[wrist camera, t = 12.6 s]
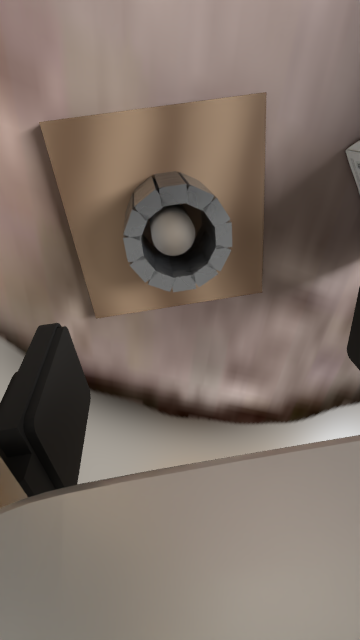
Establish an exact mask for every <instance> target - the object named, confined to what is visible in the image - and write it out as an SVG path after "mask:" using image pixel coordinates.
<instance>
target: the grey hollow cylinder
mask: <svg viewBox="0 0 360 640" xmlns="http://www.w3.org/2000/svg"><path fill="white" fill-rule="evenodd" d="M154 177H155V180H154V178H153V177H152V176H150V177H149V178H148V179H146V180H145V181H144V182H143V183H142V184H140V185H139V186H138V187H137V188H136V189H134V193H133V192H132V195H131V198H130V201H129V203H128V206H127V209H126V212H125V220H124V232H123V241H124V245H125V250H126V255H127V260H128V262H130V266H131V268H132V269H133V270H134V271H135V272H136V273H137V274H138V275H139V276H140V277H141V279H142V280H143V281H144V282H145V283H146V282H147V281H148V285H151V286H154V287H157V288H160V289H163V290H165V291H168V292H170V291H171V289H173V292H178V291H185V290H191V289H196V284H197V286H198V287H201V286H202V285H203V284H205V283H206V282H208V281H209V280H210V279H212V278H213V277H215V276H216V275H218V272H217V270H218V271H221V270H222V268H223V266H224V264H225V262H226V260H227V258H228V256H229V254H230V252H231V249H230V247H232V222H231V221H230V217H229V216H228V214H227V213H226V211H225V209H224V208H223V206H222V205H221V203H220V202H219V200H218V199H217V197H216V196H215V195H214V194H213V193H212V192H210V191H209V190H208V189H207V188H206V187H205V186H204V185H203V184H202V183H201V182H200V181H199V180H196V179H194V178H192V177H190V176H188V175H186V174H184V173H181V172H179V174H178V173H177V171H173V172H166V173H159V174H154ZM183 203H186V204H188V205H191V206H193V207H195V208H198V209H200V210H201V220H202V225H201V227H200V229H199V231H198V233H197V236H196V238H195V239H194V242H193V244H192V246H191V247H190V248H189V249H188V250H187V251H186V252H184V253H182V254H180V255H176V256H170V255H166V254H163V253H162V252H160V251H159V250H158V249H157V248H156V247H155V246H153V245H152V244H151V243H150V242H149V240H148V239H147V238H146V237H145V236H144V234H143V231H144V228H145V226H146V223H147V220H148V219H149V218H150V217H151V216H153V215H154V214H155V213H156V212H158V211H159V210H160V209H161V208H163V207H164V206H169V205H176V204H183Z"/></svg>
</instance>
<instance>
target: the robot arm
mask: <svg viewBox="0 0 360 640" xmlns="http://www.w3.org/2000/svg"><path fill="white" fill-rule="evenodd" d="M347 353H348V356H349V358H350V359H351V361H352V362H353V363H354V364H355V365H356V366H357V368H358V369H359V370H360V288H359V292H358V297H357V302H356V307H355V312H354V317H353V321H352V326H351V331H350V336H349V341H348V346H347ZM89 405H90V390H89V387H88V384H87V381H86V378H85V375H84V373H83V370H82V367H81V364H80V361H79V359H78V356H77V353H76V350H75V348H74V345H73V342H72V339H71V336H70V334H69V331H68V329H67V327H61V325H60V324H59V323H54V324H47V325H41V326H39V327H38V328H37V330H36V333H35V335H34V337H33V339H32V342H31V344H30V346H29V348H28V350H27V353H26V355H25V357H24V359H23V362H22V364H21V366H20V368H19V370H18V372H16V373H15V374H14V375H13V377H12V379H11V381H10V383H9V385H8V388H7V390H6V392H5V394H4V396H3V398H2V401H1V403H0V640H360V435H358V436H352V437H345V438H339V439H333V440H327V441H321V442H316V443H309V444H303V445H297V446H292V447H285V448H280V449H274V450H268V451H262V452H256V453H250V454H245V455H238V456H233V457H227V458H221V459H215V460H210V461H204V462H198V463H192V464H186V465H180V466H175V467H170V468H164V469H157V470H152V471H146V472H140V473H135V474H130V475H125V476H120V477H114V478H109V479H104V480H98V481H94V482H88V483H83V484H78V485H77V482H78V475H79V469H80V463H81V456H82V450H83V444H84V437H85V431H86V425H87V419H88V412H89Z"/></svg>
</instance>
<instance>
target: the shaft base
mask: <svg viewBox="0 0 360 640" xmlns="http://www.w3.org/2000/svg"><path fill="white" fill-rule="evenodd" d="M39 124H40V127H41V130H42V134H43V137H44V141H45V144H46V148H47V151H48V155H49V158H50V161H51V165H52V168H53V172H54V175H55V179H56V182H57V186H58V189H59V192H60V196H61V199H62V203H63V206H64V210H65V213H66V217H67V220H68V223H69V227H70V230H71V234H72V237H73V241H74V244H75V248H76V251H77V254H78V258H79V261H80V265H81V268H82V272H83V275H84V279H85V282H86V285H87V289H88V292H89V296H90V299H91V303H92V306H93V310H94V313H95V316H96V318H103V317H109V316H115V315H122V314H128V313H135V312H141V311H147V310H154V309H160V308H166V307H173V306H179V305H185V304H192V303H198V302H205V301H211V300H217V299H224V298H230V297H236V296H243V295H249V294H255V293H262V271H263V224H264V177H265V130H266V92H265V93H257V94H249V95H242V96H234V97H227V98H219V99H211V100H204V101H196V102H189V103H181V104H173V105H166V106H158V107H151V108H143V109H135V110H128V111H120V112H113V113H105V114H97V115H90V116H82V117H75V118H67V119H59V120H52V121H44V122H39ZM173 171H177V173H178V174H179V172H181V173H184V174H186V175H188V176H190V177H192V178H194V179H196V180H199V181H200V182H201V183H202V184H203V185H204V186H205V187H206V188H207V189H208V190H209V191H210V192H212V193H213V194H214V195H215V196H216V197H217V199H218V200H219V202H220V203H221V205H222V206H223V208H224V209H225V211H226V213H227V214H228V216H229V217H230V221H231V222H232V247H230V249H231V252H230V254H229V256H228V258H227V260H226V262H225V264H224V266H223V268H222V270H221V271H218V270H217V272H218V275H216V276H215V277H213V278H212V279H210V280H209V281H208V282H206V283H205V284H203V285H202V286H201V287H198V286H197V284H196V289H191V290H185V291H178V292H173V289H171V291H170V292H168V291H165V290H163V289H160V288H157V287H154V286H151V285H148V281H147V282H146V283H145V282H144V281H143V280H142V279H141V277H140V276H139V275H138V274H137V273H136V272H135V271H134V270H133V269H132V268H131V266H130V262H128V260H127V255H126V250H125V245H124V241H123V232H124V220H125V212H126V209H127V206H128V203H129V201H130V198H131V195H132V192H133V193H134V189H136V188H137V187H138V186H139V185H140V184H142V183H143V182H144V181H145V180H146V179H148V178H149V177H150V176H152V177H153V178H154V180H155V177H154V174H159V173H166V172H173ZM201 225H202V220H201V210H200V209H198V208H195V207H193V206H191V205H188V204H186V203H183V204H176V205H169V206H164V207H163V208H161V209H160V210H159V211H158V212H156V213H155V214H154V215H153V216H151V217H150V218H149V219H148V220H147V223H146V226H145V228H144V231H143V234H144V236H145V237H146V238H147V239H148V240H149V242H150V243H151V244H152V245H153V246H155V247H156V248H157V249H158V250H159V251H160V252H162V253H163V254H166V255H170V256H176V255H180V254H182V253H184V252H186V251H187V250H188V249H189V248H190V247H191V246H192V244H193V242H194V239H195V238H196V236H197V233H198V231H199V229H200V227H201Z"/></svg>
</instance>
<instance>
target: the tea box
mask: <svg viewBox="0 0 360 640" xmlns="http://www.w3.org/2000/svg"><path fill="white" fill-rule="evenodd" d="M346 154H347V157H348V161H349V164H350V167H351V170H352V173H353V175H354V178H355V181H356V184H357V187H358V191H359V194H360V140H359V141H358V142H356V143H355V144H353V145H352V146H350V147H349V148H348V149H347V150H346Z"/></svg>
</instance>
